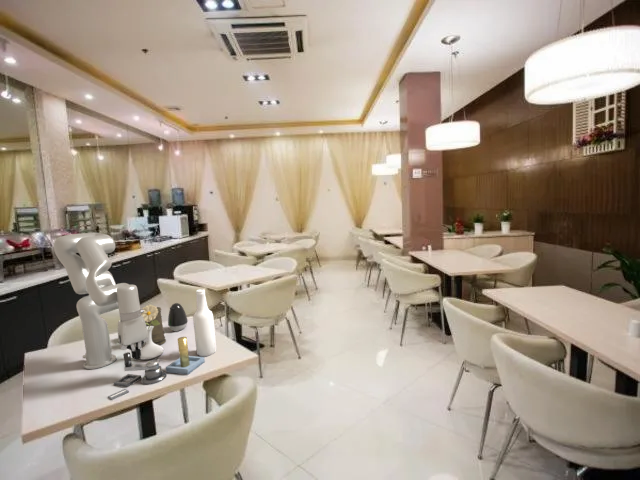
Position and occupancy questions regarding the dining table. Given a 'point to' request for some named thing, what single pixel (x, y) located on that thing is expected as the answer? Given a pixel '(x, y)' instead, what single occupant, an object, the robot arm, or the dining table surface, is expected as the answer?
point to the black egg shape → (177, 317)
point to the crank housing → (149, 378)
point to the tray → (177, 368)
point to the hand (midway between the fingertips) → (137, 358)
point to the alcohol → (204, 326)
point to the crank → (135, 367)
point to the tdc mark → (118, 394)
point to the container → (157, 330)
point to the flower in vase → (150, 348)
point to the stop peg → (183, 351)
